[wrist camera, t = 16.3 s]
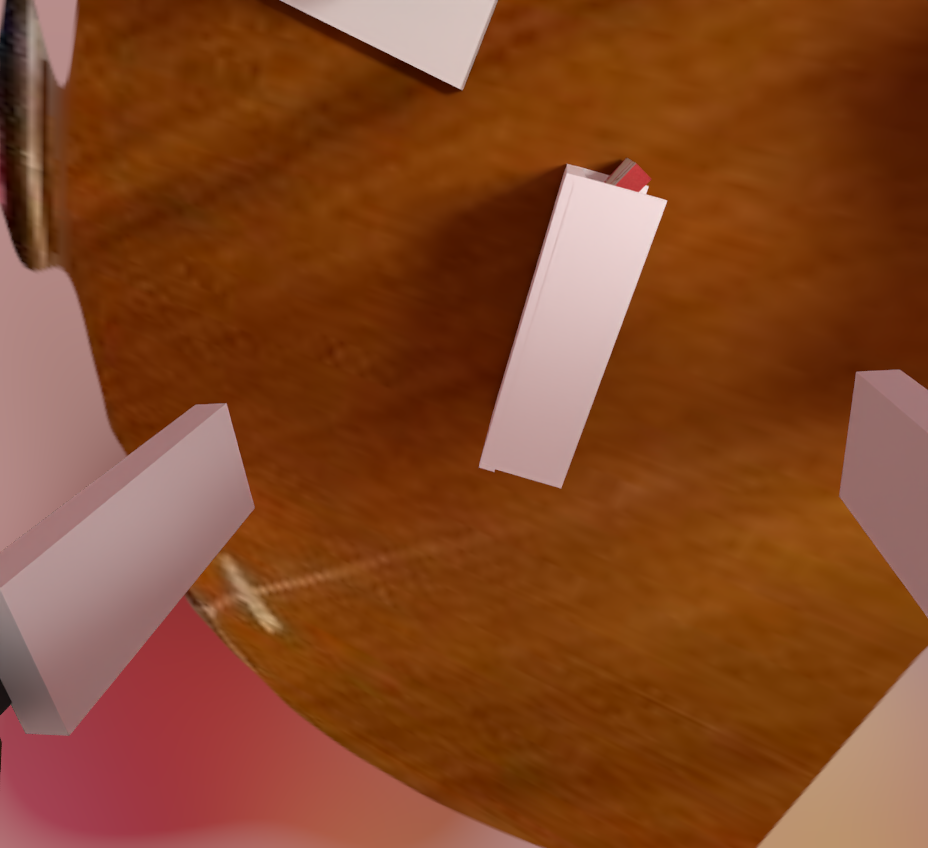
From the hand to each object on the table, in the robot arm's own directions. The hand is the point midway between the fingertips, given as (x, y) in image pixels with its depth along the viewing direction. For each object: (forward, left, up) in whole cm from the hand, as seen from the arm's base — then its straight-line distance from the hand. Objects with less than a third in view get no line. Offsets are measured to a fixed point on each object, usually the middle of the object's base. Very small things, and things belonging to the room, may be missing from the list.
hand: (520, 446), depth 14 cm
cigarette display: (-3, +4, -35) cm, 35 cm away
